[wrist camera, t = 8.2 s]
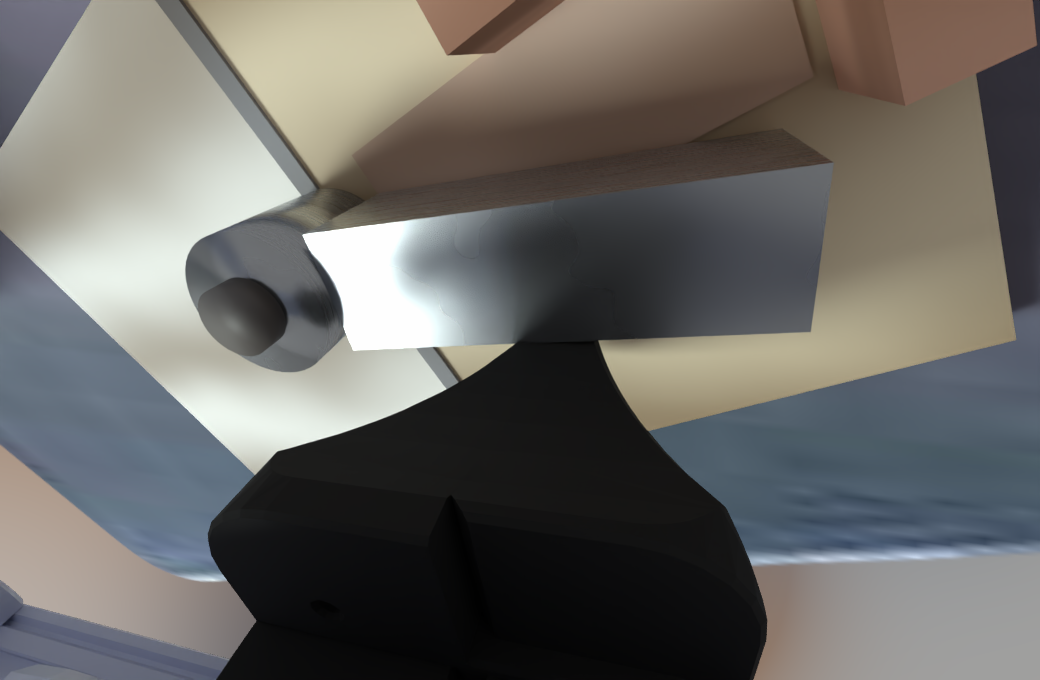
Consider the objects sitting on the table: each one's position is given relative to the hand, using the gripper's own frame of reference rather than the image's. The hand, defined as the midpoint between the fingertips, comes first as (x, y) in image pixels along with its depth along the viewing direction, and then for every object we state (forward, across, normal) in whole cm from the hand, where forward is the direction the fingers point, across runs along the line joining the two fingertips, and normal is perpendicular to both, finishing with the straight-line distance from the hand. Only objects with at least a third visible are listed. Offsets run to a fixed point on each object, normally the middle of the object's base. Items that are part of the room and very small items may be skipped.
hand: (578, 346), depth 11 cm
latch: (0, +2, -3) cm, 3 cm away
